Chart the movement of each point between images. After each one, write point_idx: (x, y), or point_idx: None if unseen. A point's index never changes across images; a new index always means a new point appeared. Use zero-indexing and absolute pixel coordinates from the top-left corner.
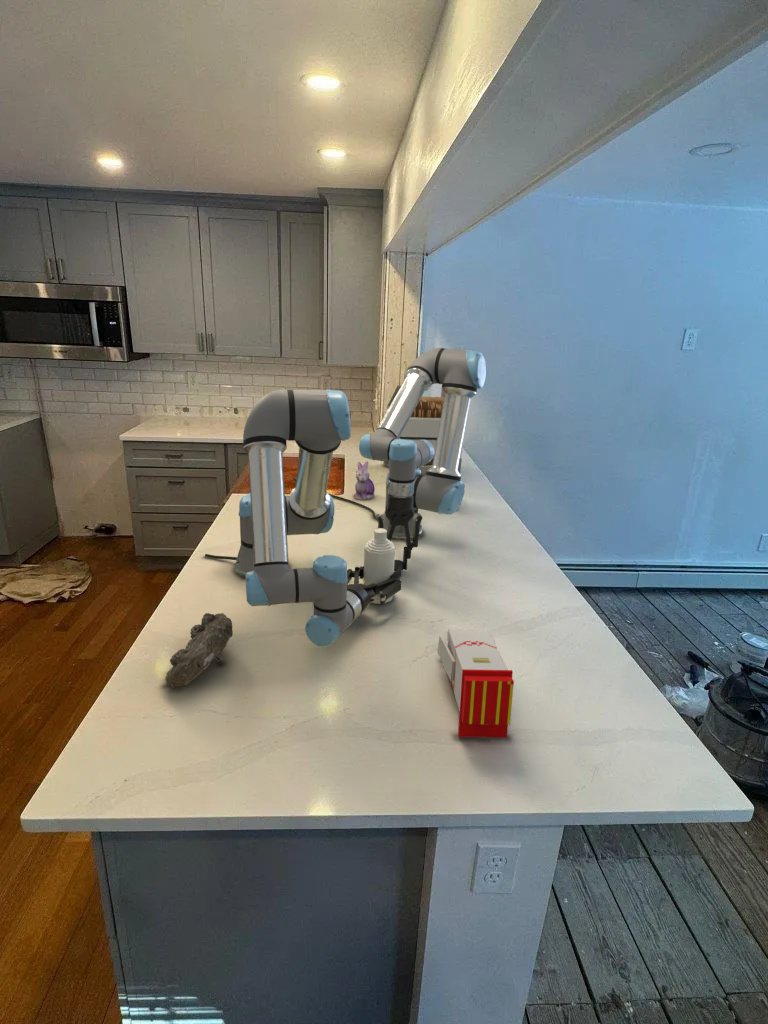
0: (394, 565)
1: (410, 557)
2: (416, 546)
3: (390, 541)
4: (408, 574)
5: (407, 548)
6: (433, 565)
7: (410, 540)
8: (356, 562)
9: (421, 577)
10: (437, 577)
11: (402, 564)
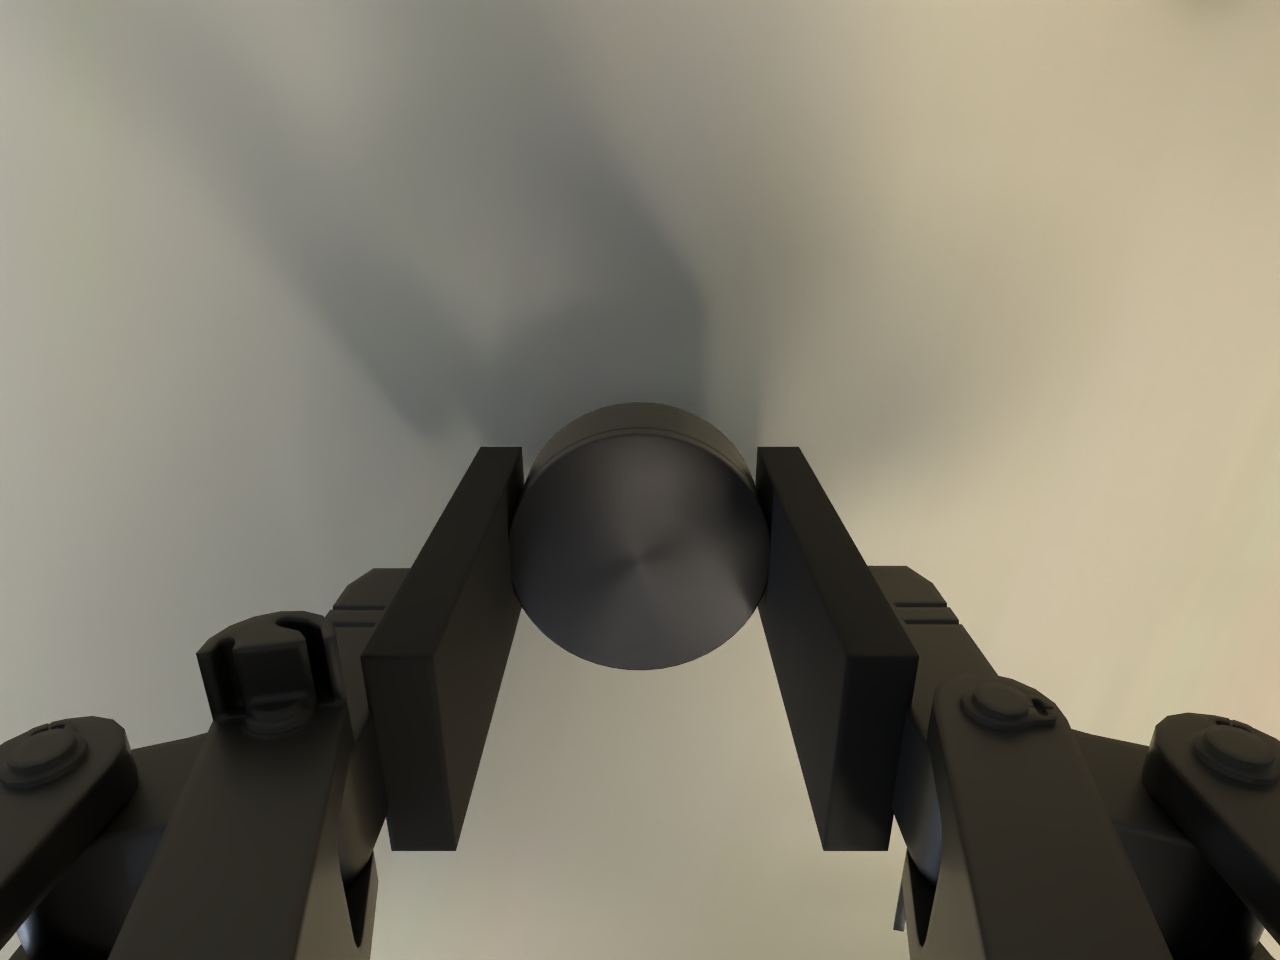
0: (704, 456)
1: (357, 583)
2: (50, 736)
3: (989, 910)
4: (463, 433)
5: (365, 722)
6: (87, 666)
7: (128, 932)
8: None
9: (272, 320)
10: (15, 301)
11: (546, 486)
